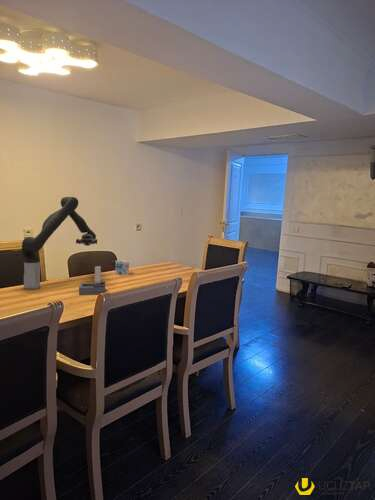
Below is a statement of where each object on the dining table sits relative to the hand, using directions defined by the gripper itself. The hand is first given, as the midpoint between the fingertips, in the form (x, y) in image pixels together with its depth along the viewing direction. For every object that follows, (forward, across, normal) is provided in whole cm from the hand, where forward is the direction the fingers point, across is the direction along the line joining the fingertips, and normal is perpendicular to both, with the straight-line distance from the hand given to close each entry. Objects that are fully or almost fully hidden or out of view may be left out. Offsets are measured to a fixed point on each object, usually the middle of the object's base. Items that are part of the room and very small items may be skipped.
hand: (86, 242), depth 235 cm
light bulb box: (-36, +26, +30) cm, 54 cm away
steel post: (+17, +8, +28) cm, 34 cm away
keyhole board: (+17, +5, +30) cm, 35 cm away
